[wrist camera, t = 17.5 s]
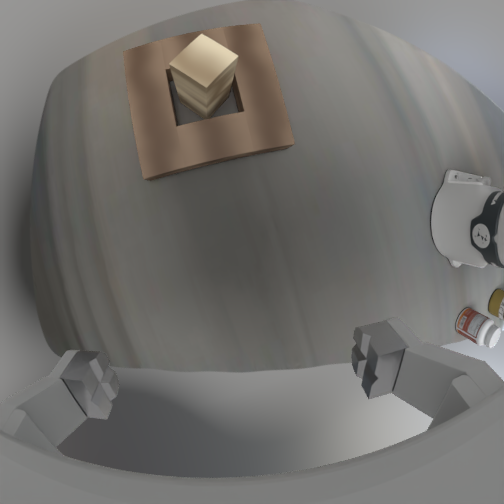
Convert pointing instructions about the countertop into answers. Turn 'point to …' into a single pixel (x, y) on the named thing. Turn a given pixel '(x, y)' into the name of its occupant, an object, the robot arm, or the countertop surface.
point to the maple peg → (204, 75)
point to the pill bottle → (477, 328)
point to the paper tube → (497, 304)
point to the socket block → (213, 129)
